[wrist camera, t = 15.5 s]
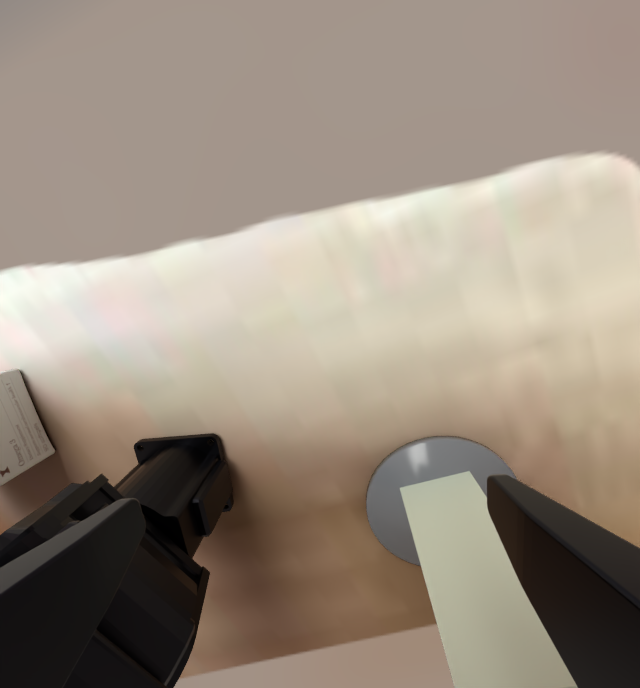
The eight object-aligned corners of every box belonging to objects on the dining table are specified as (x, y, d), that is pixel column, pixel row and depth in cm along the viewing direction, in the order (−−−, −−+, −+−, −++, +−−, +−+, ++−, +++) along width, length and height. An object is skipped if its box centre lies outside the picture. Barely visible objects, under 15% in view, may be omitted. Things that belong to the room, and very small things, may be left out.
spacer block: (417, 542, 22) (487, 787, 12) (399, 487, 21) (458, 701, 11) (484, 528, 22) (624, 774, 11) (469, 470, 21) (606, 680, 10)
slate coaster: (372, 563, 24) (373, 571, 23) (359, 442, 21) (359, 446, 21) (515, 558, 23) (520, 565, 22) (519, 429, 20) (524, 434, 20)
